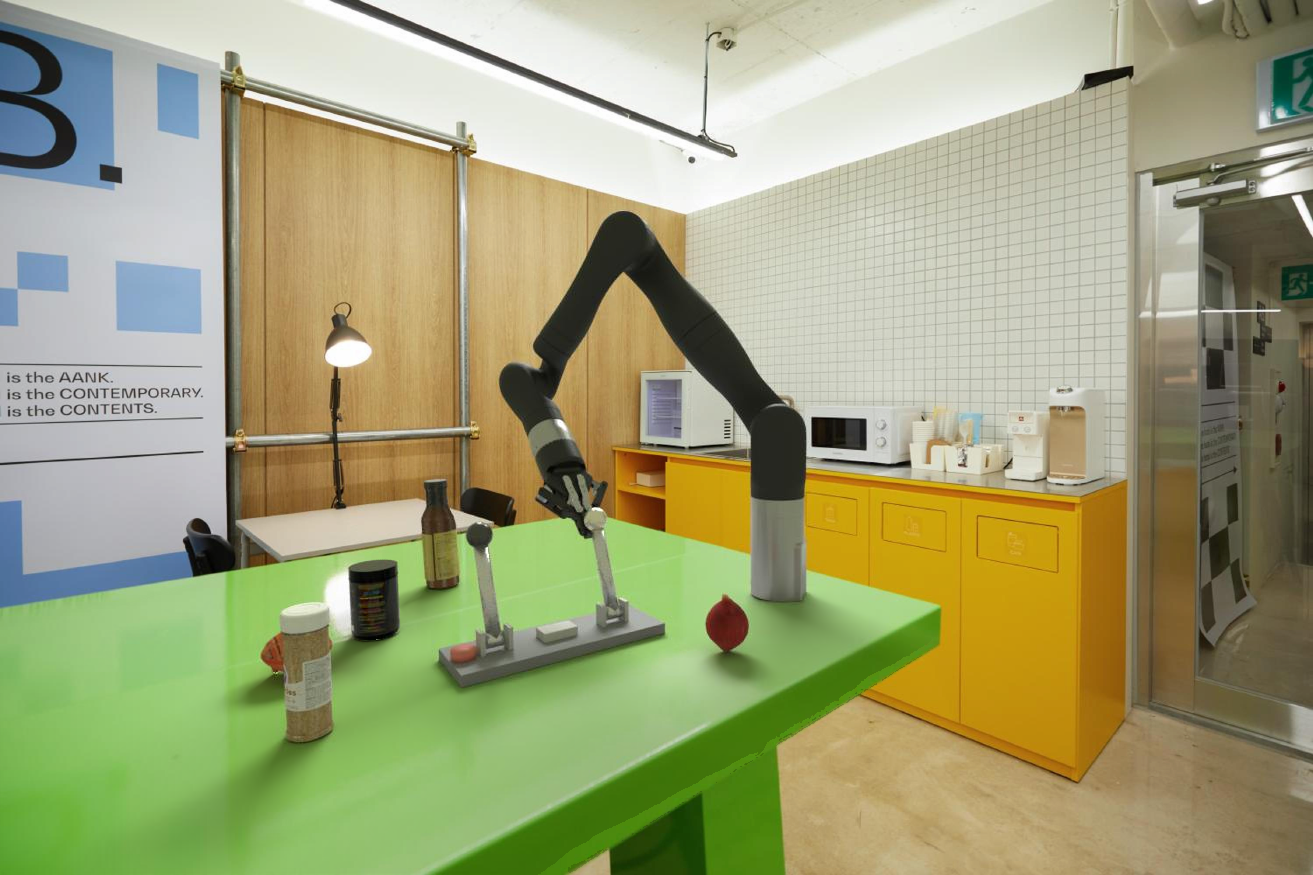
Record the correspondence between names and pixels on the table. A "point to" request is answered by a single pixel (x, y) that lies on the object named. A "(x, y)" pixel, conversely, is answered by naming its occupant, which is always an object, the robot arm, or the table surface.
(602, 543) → the metal lever
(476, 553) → the silver metal rod
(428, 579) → the sauce bottle
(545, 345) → the robot arm
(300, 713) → the sprinkles bottle
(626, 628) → the switch panel
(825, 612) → the table surface
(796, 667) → the table surface
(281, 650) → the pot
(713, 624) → the onion
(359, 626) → the supplement container
